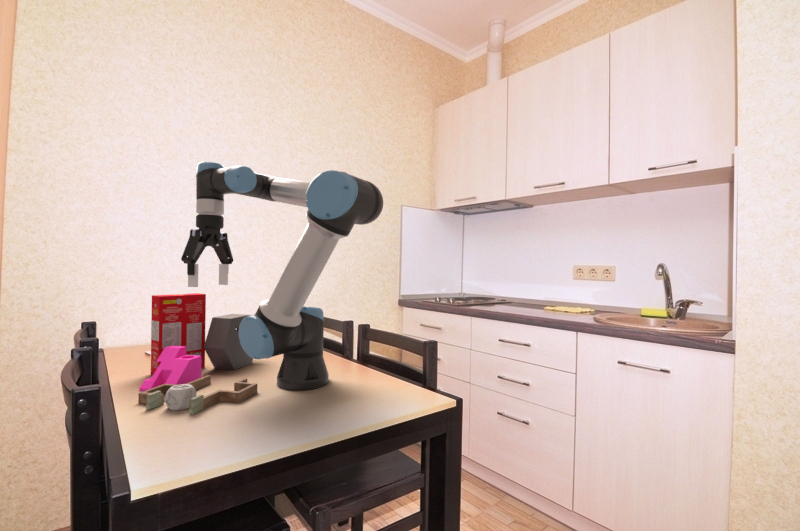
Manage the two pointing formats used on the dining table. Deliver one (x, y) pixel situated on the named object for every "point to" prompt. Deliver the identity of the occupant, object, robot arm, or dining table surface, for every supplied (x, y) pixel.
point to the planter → (226, 343)
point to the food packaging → (178, 325)
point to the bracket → (174, 368)
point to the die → (179, 396)
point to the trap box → (198, 403)
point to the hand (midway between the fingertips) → (208, 285)
